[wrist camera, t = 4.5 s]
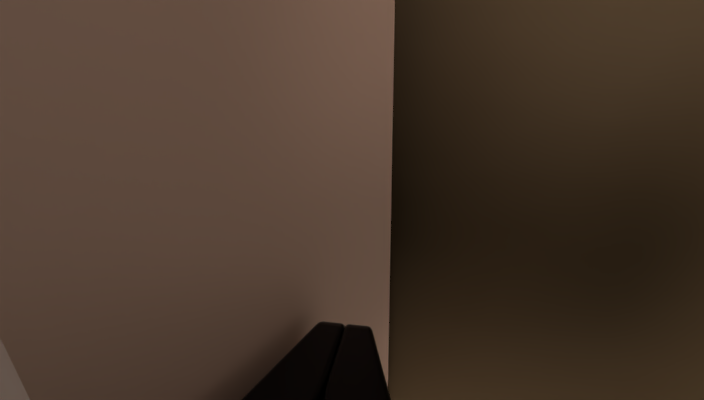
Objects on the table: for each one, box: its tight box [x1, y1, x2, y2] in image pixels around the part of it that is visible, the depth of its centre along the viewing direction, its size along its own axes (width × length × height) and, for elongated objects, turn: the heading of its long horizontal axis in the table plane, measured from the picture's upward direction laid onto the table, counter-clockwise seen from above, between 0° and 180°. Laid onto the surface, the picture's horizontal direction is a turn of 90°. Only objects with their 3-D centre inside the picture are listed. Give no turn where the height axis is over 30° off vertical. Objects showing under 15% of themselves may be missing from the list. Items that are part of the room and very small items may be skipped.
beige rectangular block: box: [0, 0, 395, 400], centre depth 9 cm, size 12×3×7 cm, turn 1°
